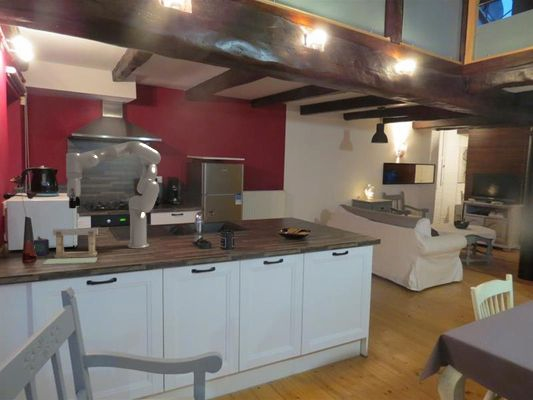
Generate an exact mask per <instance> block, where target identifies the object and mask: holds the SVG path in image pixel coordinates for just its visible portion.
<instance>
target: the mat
mask: <svg viewBox="0 0 533 400" xmlns="http://www.w3.org/2000/svg"><path fill="white" fill-rule="evenodd" d="M97 258H98V257H96V256H95V257H72V258H47V259H46V260H45V261H44V262H43V263H41V264H42V266H49V265H51V266H53V265H56V266H57V265H80V264H81V265H82V264H83V265H84V263H85V264H95V263H96V261H97V260H98V259H97Z"/></svg>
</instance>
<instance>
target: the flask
mask: <svg viewBox="0 0 533 400" xmlns="http://www.w3.org/2000/svg"><path fill="white" fill-rule="evenodd" d="M33 240H34V245H35V252H36V255H37V256H38V257H45V256H46V257H47V256H50V242H49V241H50V240H49V239H47V238H42V237H41V236H40V235H39V236H37V237H36V239H33Z"/></svg>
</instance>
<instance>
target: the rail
mask: <svg viewBox="0 0 533 400" xmlns="http://www.w3.org/2000/svg"><path fill="white" fill-rule="evenodd" d="M89 231H93V235H95V236H97V235H98V234H99V228H94V227H92V228H54V229H53V228H52V236H54V237H56V232H61V235H64V236H88V232H89Z"/></svg>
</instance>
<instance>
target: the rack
mask: <svg viewBox="0 0 533 400" xmlns="http://www.w3.org/2000/svg"><path fill="white" fill-rule="evenodd" d="M64 236H65V235H61V232H56V236H55V248H56V249H55V251H56V253H55V255H54V259H66V258H71V257H72V258H96V256H97V255H98V251H96V235H93V231H89V232H88V235H87V236H88V237H87V238H88V251H68V252H67V251H65V242H64V241H65V240H64V238H65V237H64Z"/></svg>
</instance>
